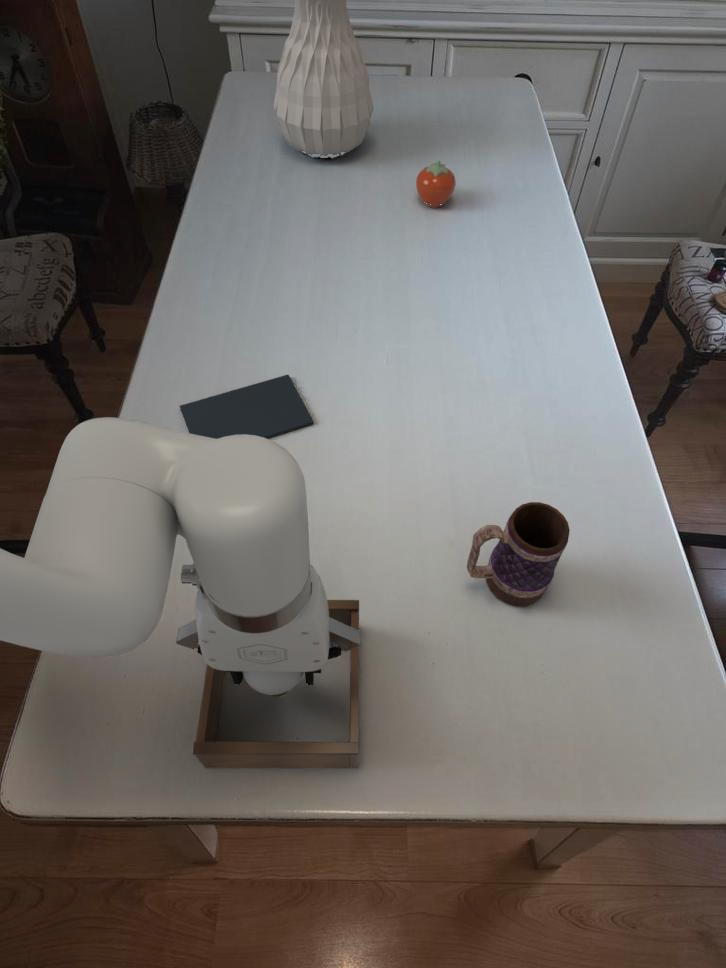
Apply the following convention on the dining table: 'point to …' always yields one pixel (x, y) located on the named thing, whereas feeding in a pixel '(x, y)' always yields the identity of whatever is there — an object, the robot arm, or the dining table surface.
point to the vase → (322, 81)
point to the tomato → (435, 184)
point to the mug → (521, 553)
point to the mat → (249, 411)
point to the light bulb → (272, 681)
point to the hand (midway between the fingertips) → (275, 668)
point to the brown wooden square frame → (279, 752)
